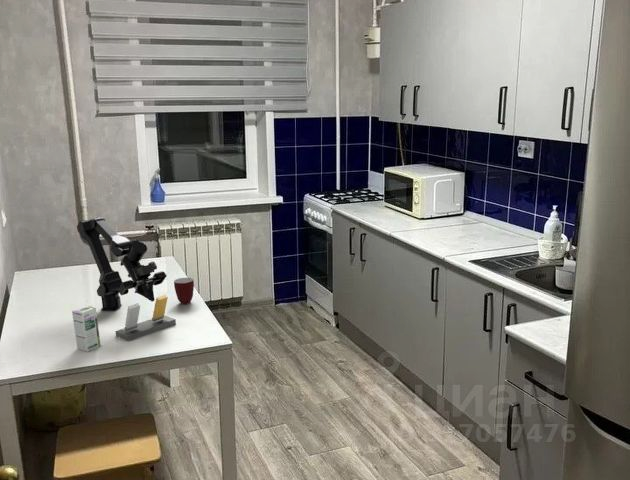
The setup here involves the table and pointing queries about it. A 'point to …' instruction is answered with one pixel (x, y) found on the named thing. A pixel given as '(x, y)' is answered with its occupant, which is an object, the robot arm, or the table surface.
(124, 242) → the robot arm
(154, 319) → the rocker amber
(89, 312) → the syrup box
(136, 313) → the rocker grey
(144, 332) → the grey switch base
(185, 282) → the mug
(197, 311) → the table surface
